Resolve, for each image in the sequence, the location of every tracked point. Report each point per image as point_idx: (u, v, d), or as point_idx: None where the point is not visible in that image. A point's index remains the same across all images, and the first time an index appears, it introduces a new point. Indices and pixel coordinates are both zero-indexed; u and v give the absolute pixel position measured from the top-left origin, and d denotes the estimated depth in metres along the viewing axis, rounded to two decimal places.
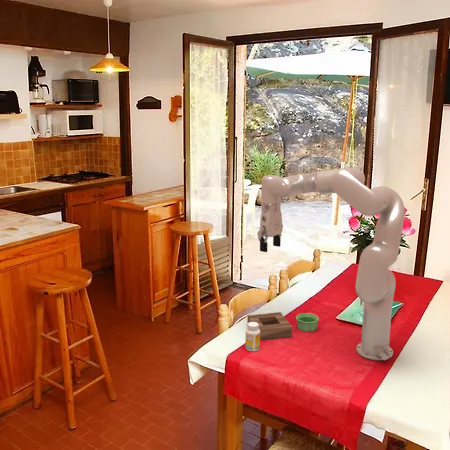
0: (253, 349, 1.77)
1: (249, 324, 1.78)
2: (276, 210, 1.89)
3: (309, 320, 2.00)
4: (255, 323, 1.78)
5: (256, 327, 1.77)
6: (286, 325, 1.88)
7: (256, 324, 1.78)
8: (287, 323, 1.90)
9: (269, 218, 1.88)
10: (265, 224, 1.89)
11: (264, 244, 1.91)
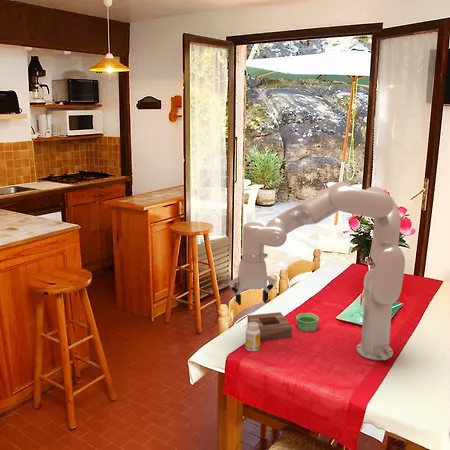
0: (253, 349, 1.77)
1: (249, 324, 1.78)
2: None
3: (309, 320, 2.00)
4: (255, 323, 1.78)
5: (256, 327, 1.77)
6: (286, 325, 1.88)
7: (256, 324, 1.78)
8: (287, 323, 1.90)
9: None
10: None
11: None
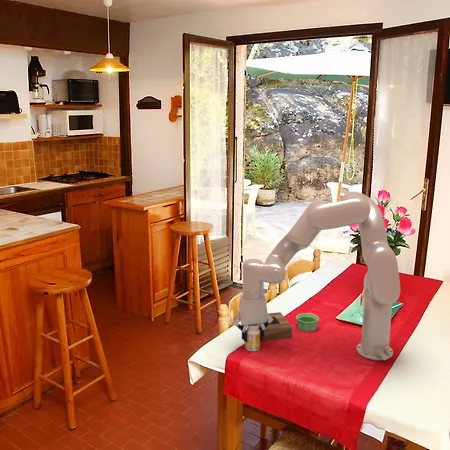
0: (253, 349, 1.77)
1: None
2: None
3: (309, 320, 2.00)
4: None
5: (256, 327, 1.77)
6: (286, 325, 1.88)
7: (256, 324, 1.78)
8: (287, 323, 1.90)
9: None
10: None
11: None
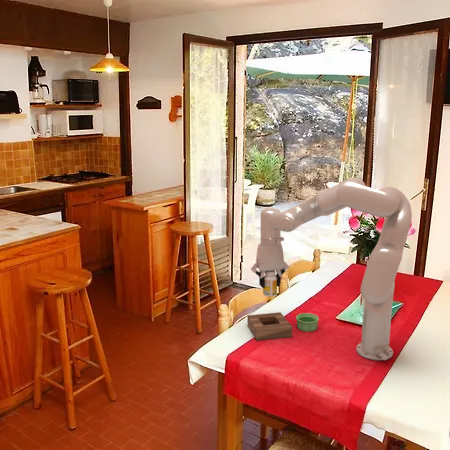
0: (271, 294, 1.87)
1: (266, 271, 1.88)
2: None
3: (309, 320, 2.00)
4: (272, 270, 1.88)
5: (273, 273, 1.86)
6: (286, 325, 1.88)
7: (273, 271, 1.87)
8: (287, 323, 1.90)
9: None
10: None
11: None
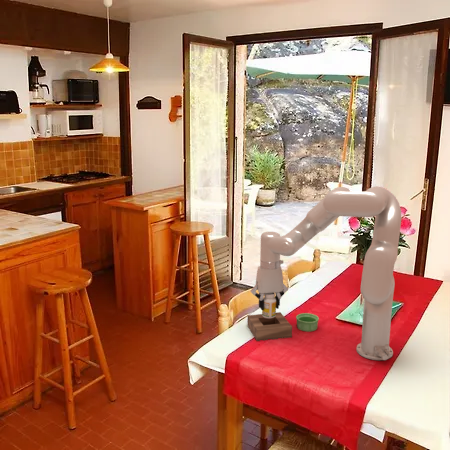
0: (270, 316, 1.89)
1: (266, 293, 1.90)
2: None
3: (309, 320, 2.00)
4: None
5: (272, 296, 1.89)
6: (286, 325, 1.88)
7: (272, 293, 1.90)
8: (287, 323, 1.90)
9: None
10: None
11: None
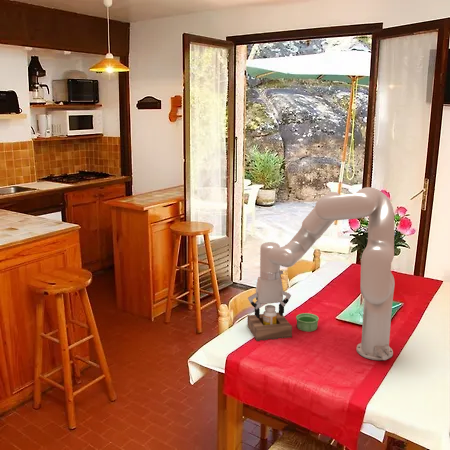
0: None
1: (266, 307, 1.91)
2: None
3: (309, 320, 2.00)
4: (272, 306, 1.92)
5: (273, 309, 1.90)
6: (286, 325, 1.88)
7: (273, 307, 1.91)
8: (287, 323, 1.90)
9: None
10: None
11: None
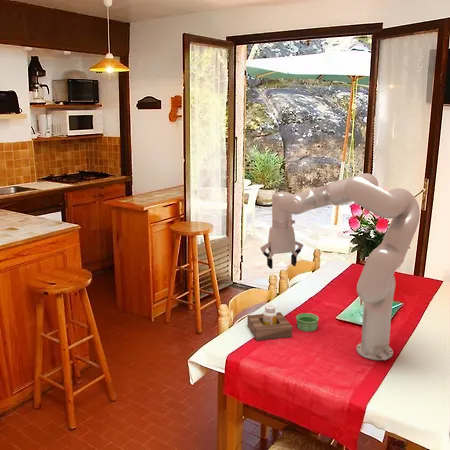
0: None
1: (266, 307, 1.91)
2: None
3: (309, 320, 2.00)
4: (272, 306, 1.92)
5: (273, 309, 1.90)
6: (286, 325, 1.88)
7: (273, 307, 1.91)
8: (287, 323, 1.90)
9: None
10: None
11: None
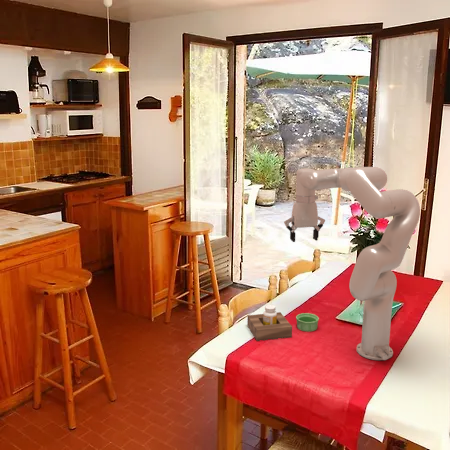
0: None
1: (266, 307, 1.91)
2: None
3: (309, 320, 2.00)
4: (272, 306, 1.92)
5: (273, 309, 1.90)
6: (286, 325, 1.88)
7: (273, 307, 1.91)
8: (287, 323, 1.90)
9: None
10: None
11: None
